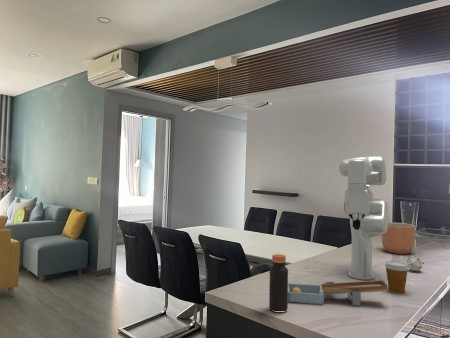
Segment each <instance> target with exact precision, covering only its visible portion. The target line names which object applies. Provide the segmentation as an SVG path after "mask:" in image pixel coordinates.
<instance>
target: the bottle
mask: <svg viewBox="0 0 450 338" xmlns="http://www.w3.org/2000/svg"><path fill="white" fill-rule="evenodd" d="M271 258H272V261H271V262H272V266H271V267H269V285H268V286H269V297H268V300H269V301H268V307H269V308H270V309H271V310H274V311H286V310H287V309H288V306H289V303H288V283H289V270H288V268H287V266H285V265H286V261H287V259H286V255H284V254H279V253H277V254H273V255H272V257H271ZM270 309H269V310H270ZM271 310H270V311H271ZM288 310H289V309H288ZM288 310H287V311H288ZM287 311H286V312H287Z"/></svg>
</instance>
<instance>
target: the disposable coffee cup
mask: <svg viewBox="0 0 450 338" xmlns="http://www.w3.org/2000/svg"><path fill="white" fill-rule="evenodd" d="M384 267H385V272H386V280H387V286H388V292H389V291H390V292H391V293H395V294H403V293H405V289H406V282H407V277H408V270H410V268H409V267H408V265H407V262H401V261H396V260H394V261H393V260H392V261H391V260H390V261H389V260H388V261H385V264H384Z"/></svg>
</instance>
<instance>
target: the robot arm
mask: <svg viewBox="0 0 450 338" xmlns="http://www.w3.org/2000/svg"><path fill="white" fill-rule="evenodd" d="M338 171H339V174H340V176H341V177H347V190H345V192H344V200H343V211H344V212H343V215H344V216H346V217H349V218H350V219H349V224H350V225H349V226H350V231H351V232H350V233H351V271H349V272H348V274H347V275H348V277H350V278H352V279H357V280H363V281H373V280H375V279H376V275H375V274H374V273H373V269H372V268H373V242H372V239H371V238H370V237H369V235H368V234H374V235H375V234H376V235H381V234H384V233H386V232H387V229H388V222H389V206H388V202H387V201H386V200H385V199H381V198H374V195H373V192H372V191H371V190H370V186H384V185H385V184H386V182H387V164H386V160H385V159H384V157H382V156H381V155H380V156H379V155H375V156H372V155H370V156H360V157H355V158H348V159H347V158H346V159H343V160H341V161H340V162H339V165H338Z"/></svg>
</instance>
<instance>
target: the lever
mask: <svg viewBox="0 0 450 338" xmlns="http://www.w3.org/2000/svg"><path fill="white" fill-rule="evenodd" d="M320 286H321V290H322V292H323V293H322V294H324V295H337V294H340V295H341V294H348V293H352V291H361V293H376V292H377V293H378V292H389V288H388V282H386V281H385V279H383V278H381V277H380V279H379V280H363V281H348V282H335V281H325V282H324V283H321V285H320Z"/></svg>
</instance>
